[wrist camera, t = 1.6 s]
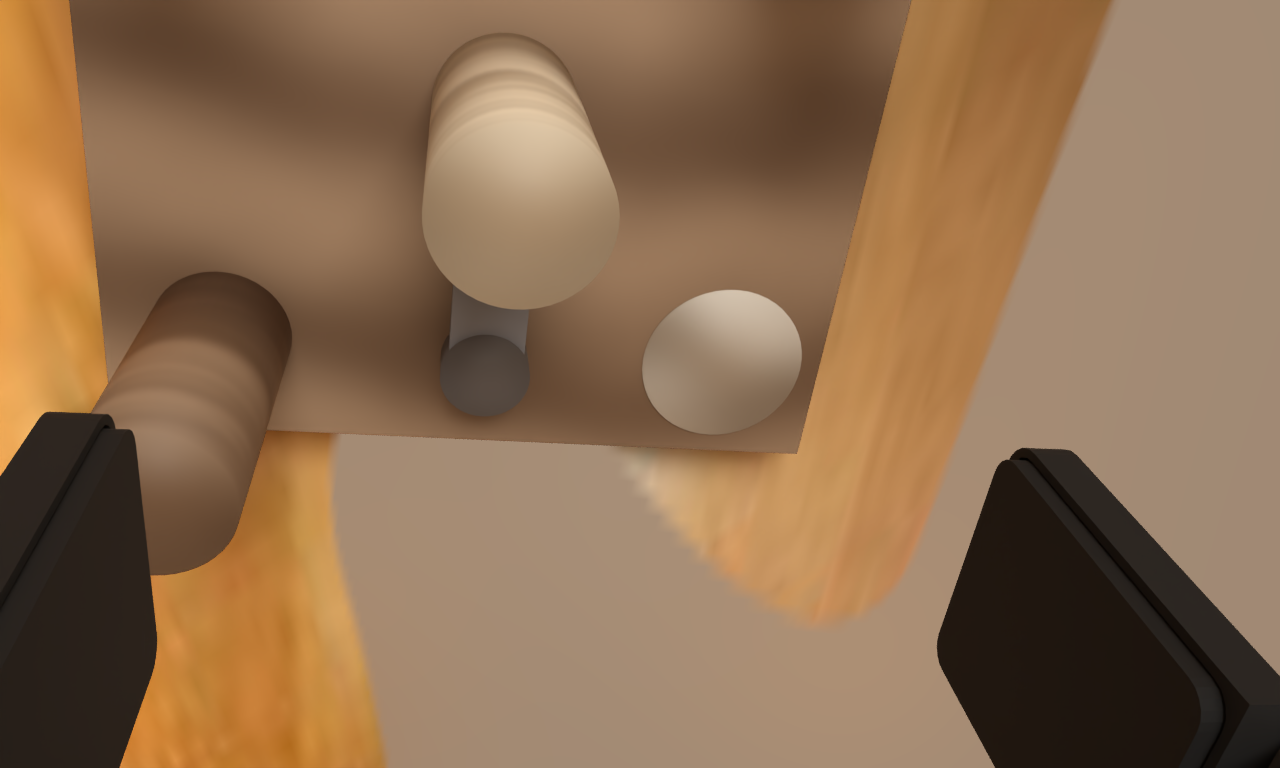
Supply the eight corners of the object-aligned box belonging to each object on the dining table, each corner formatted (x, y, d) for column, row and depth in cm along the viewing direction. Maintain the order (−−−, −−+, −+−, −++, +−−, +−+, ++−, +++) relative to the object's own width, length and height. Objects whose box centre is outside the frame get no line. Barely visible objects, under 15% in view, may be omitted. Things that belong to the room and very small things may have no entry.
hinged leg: (544, 397, 30) (569, 576, 24) (416, 391, 30) (403, 572, 23) (586, 41, 26) (632, 133, 19) (436, 23, 25) (426, 112, 18)
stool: (62, -454, 22) (-210, -625, 13) (940, -282, 26) (1195, -322, 17) (136, 379, 32) (5, 617, 22) (776, 413, 35) (885, 626, 26)
